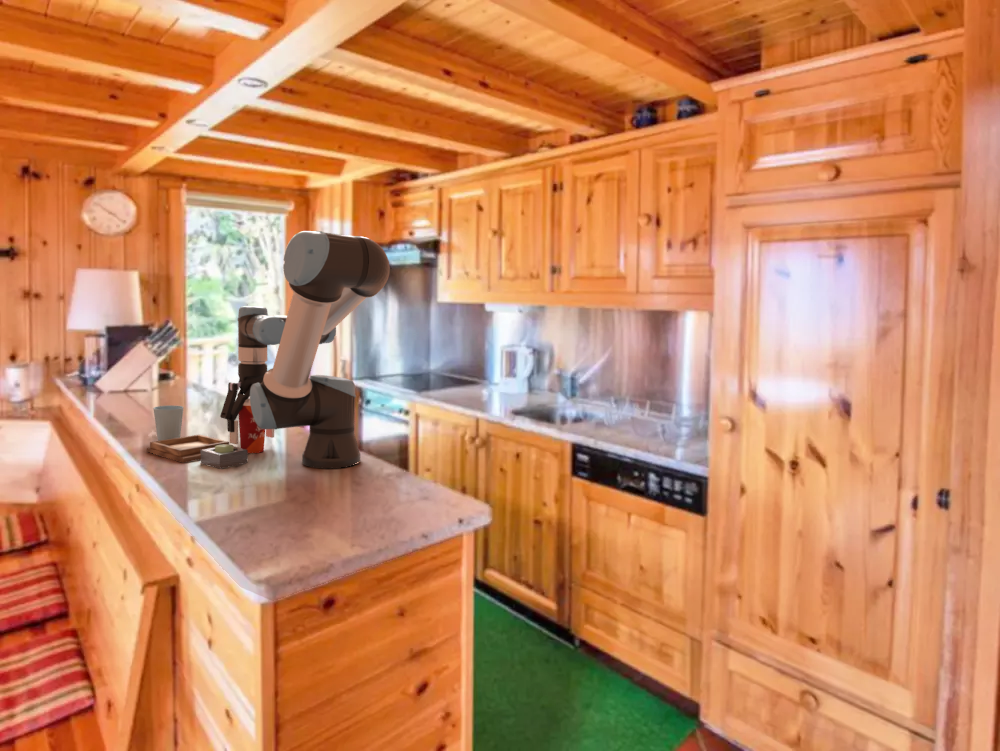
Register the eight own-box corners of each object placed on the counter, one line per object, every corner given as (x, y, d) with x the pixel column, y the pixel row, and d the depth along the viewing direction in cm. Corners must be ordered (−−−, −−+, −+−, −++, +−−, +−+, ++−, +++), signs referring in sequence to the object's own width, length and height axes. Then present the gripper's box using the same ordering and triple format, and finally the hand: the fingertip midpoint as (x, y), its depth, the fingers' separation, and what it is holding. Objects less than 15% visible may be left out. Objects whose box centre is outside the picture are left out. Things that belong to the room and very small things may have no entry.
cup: (150, 446, 178) (149, 409, 177) (158, 440, 186) (157, 405, 185) (179, 446, 180) (179, 409, 179) (186, 440, 188) (186, 405, 187)
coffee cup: (257, 455, 174) (257, 401, 172) (230, 452, 175) (230, 399, 174) (273, 449, 182) (274, 397, 180) (248, 446, 183) (248, 395, 182)
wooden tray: (235, 452, 176) (235, 442, 175) (183, 462, 163) (183, 451, 163) (198, 443, 184) (198, 433, 184) (146, 452, 172) (146, 441, 171)
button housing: (247, 462, 166) (247, 449, 165) (219, 468, 159) (219, 455, 159) (228, 457, 170) (228, 444, 170) (200, 463, 163) (200, 450, 163)
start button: (237, 461, 165) (237, 446, 165) (221, 464, 161) (221, 449, 161) (226, 458, 167) (226, 443, 167) (211, 461, 164) (211, 446, 163)
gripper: (278, 359, 188) (278, 432, 190) (205, 363, 168) (205, 444, 170) (296, 361, 184) (295, 435, 186) (223, 366, 164) (223, 449, 166)
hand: (252, 440), depth 178 cm, fingers open, 11 cm apart
